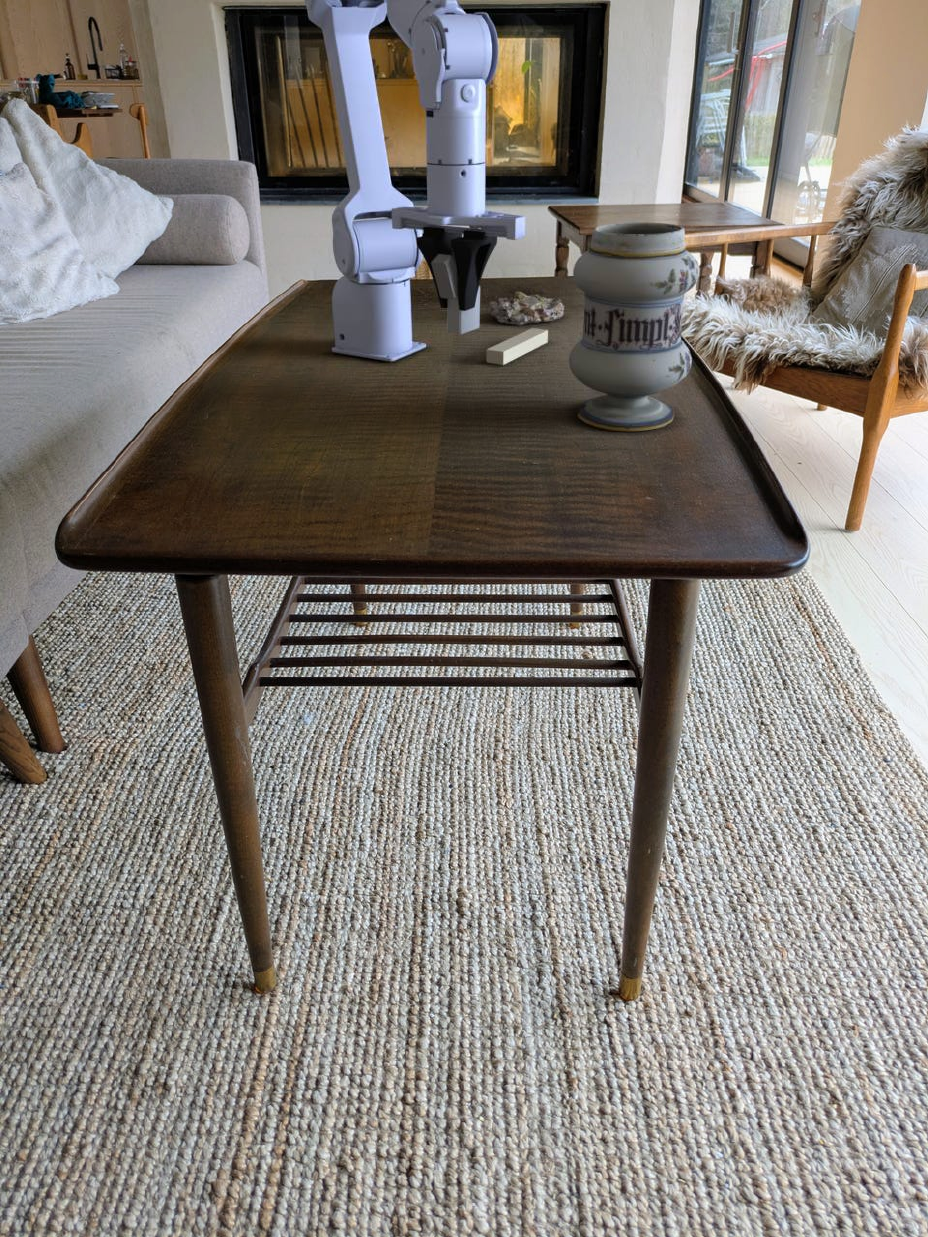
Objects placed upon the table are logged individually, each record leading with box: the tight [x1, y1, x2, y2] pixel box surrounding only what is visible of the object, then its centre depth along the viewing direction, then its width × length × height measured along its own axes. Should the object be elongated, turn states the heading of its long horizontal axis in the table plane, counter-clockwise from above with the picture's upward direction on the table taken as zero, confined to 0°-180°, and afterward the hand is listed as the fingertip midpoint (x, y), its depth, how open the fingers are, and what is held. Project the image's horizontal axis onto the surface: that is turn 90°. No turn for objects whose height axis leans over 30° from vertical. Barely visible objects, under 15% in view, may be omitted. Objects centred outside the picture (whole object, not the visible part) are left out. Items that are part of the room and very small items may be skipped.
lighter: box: [431, 254, 481, 335], centre depth 94 cm, size 7×2×8 cm, turn 149°
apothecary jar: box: [568, 221, 701, 433], centre depth 88 cm, size 12×12×18 cm
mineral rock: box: [489, 291, 565, 326], centre depth 128 cm, size 11×4×8 cm
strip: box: [485, 327, 549, 366], centre depth 113 cm, size 2×12×2 cm, turn 149°
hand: (457, 307), depth 95 cm, fingers closed on lighter, 2 cm apart
